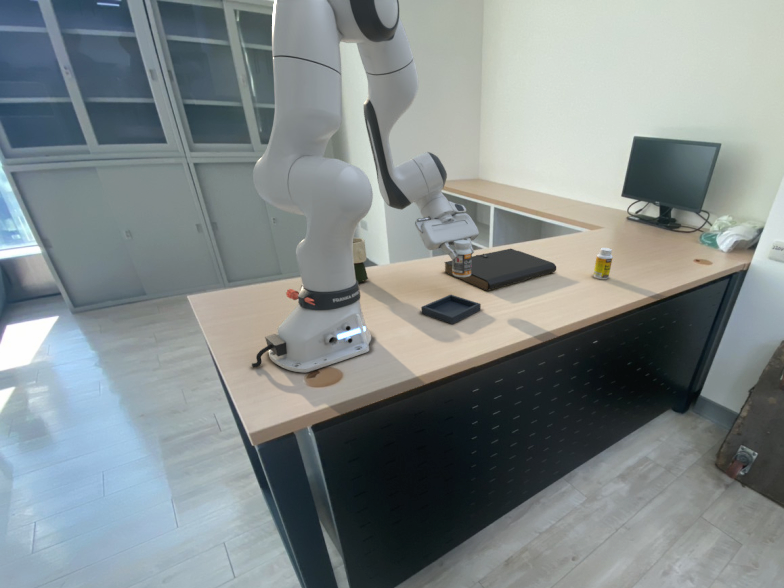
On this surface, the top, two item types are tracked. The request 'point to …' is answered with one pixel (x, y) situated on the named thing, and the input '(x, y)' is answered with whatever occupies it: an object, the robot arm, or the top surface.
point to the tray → (451, 309)
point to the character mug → (359, 259)
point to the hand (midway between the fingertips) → (463, 255)
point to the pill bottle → (462, 259)
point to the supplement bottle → (603, 264)
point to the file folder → (503, 268)
